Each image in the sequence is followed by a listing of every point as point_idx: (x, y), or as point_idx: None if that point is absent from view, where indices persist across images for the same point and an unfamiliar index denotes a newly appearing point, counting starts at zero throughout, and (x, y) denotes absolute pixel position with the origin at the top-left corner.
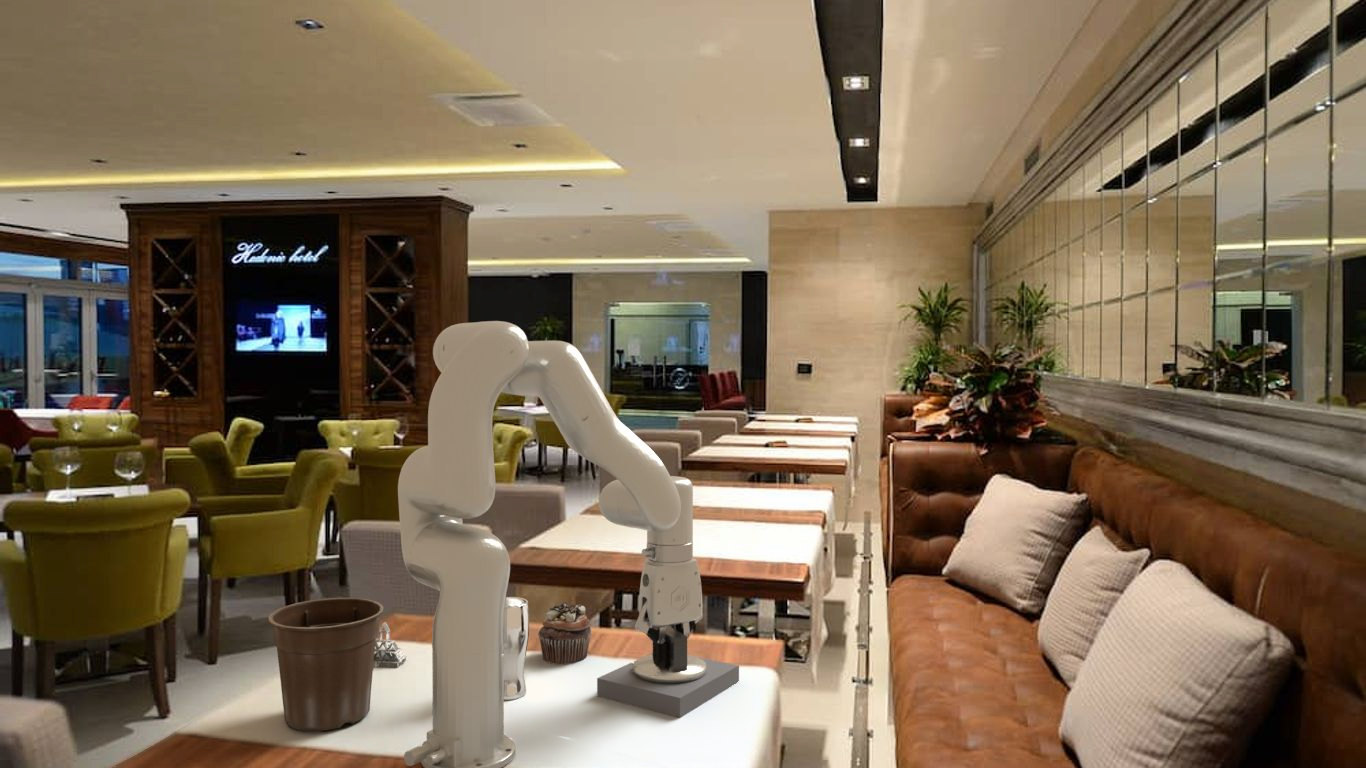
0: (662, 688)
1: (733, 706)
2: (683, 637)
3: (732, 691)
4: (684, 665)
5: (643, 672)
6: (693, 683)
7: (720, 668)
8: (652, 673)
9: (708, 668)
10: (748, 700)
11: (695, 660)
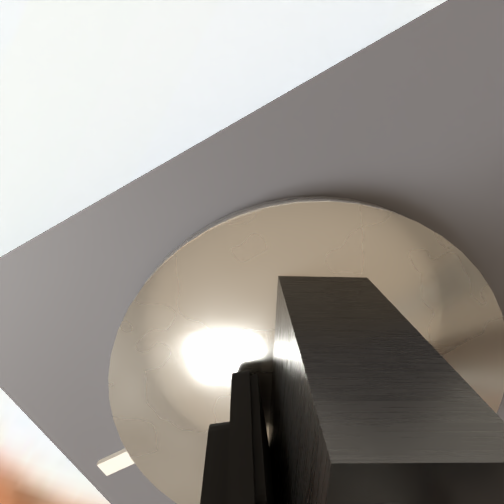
0: (478, 178)
1: (132, 17)
2: (392, 459)
3: (56, 197)
4: (302, 290)
5: (499, 353)
6: (289, 167)
7: (40, 306)
8: (472, 320)
9: (103, 333)
10: (27, 53)
11: (151, 395)
